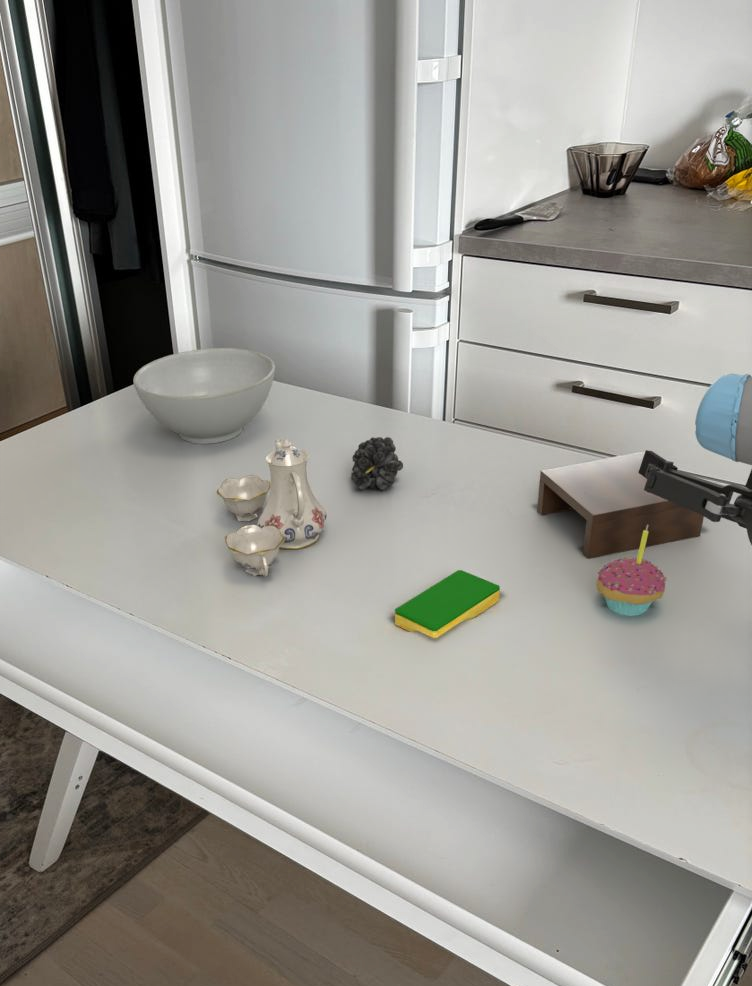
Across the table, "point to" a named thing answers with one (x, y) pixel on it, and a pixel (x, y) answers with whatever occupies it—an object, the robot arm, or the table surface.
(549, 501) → the shelf
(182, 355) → the decorative bowl
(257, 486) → the chinaware
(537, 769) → the table surface
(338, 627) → the table surface
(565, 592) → the table surface
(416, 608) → the dish sponge
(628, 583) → the cupcake
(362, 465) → the fruit
